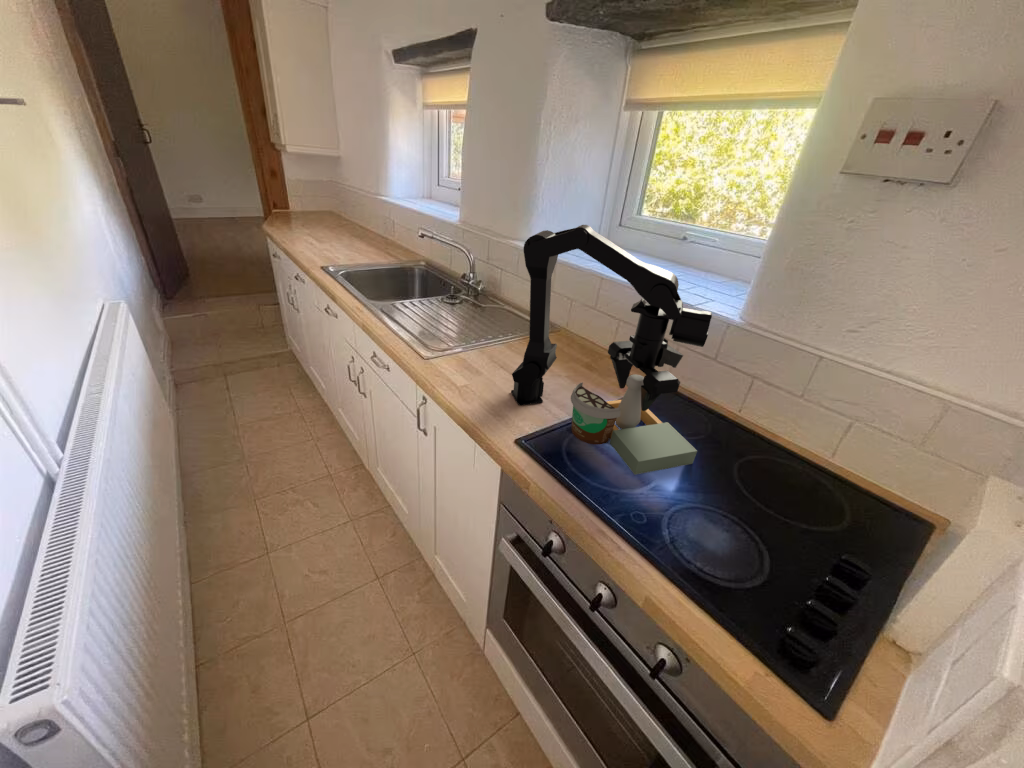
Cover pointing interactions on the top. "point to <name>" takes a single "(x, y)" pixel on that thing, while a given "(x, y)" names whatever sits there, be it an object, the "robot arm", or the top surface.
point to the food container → (592, 416)
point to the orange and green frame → (651, 445)
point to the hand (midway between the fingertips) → (632, 398)
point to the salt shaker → (631, 403)
